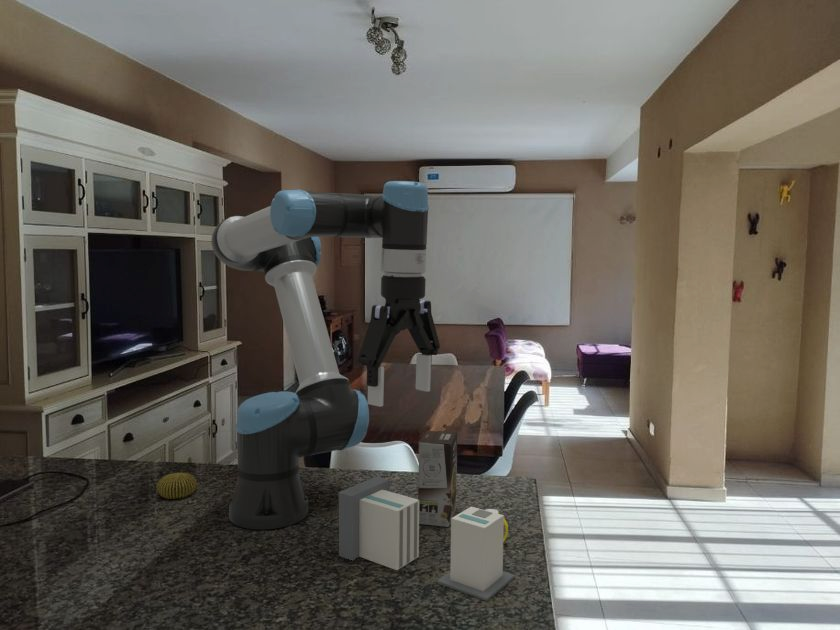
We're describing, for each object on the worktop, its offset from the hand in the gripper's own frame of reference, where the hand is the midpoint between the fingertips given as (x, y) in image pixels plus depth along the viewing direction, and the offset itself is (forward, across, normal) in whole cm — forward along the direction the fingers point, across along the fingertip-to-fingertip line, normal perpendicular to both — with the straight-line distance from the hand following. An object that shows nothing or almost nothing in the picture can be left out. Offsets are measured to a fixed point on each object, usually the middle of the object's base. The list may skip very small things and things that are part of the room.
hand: (400, 397), depth 115 cm
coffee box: (+27, +14, 0) cm, 30 cm away
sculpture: (+28, -9, +51) cm, 59 cm away
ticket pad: (+26, -5, 0) cm, 27 cm away
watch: (+26, +10, -14) cm, 31 cm away
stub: (+25, -3, -18) cm, 32 cm away
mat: (+26, -3, -18) cm, 32 cm away
